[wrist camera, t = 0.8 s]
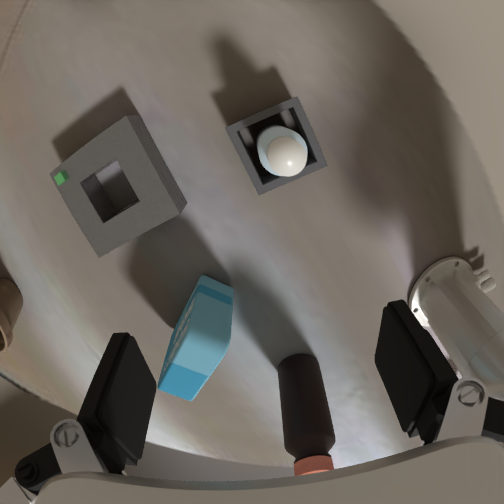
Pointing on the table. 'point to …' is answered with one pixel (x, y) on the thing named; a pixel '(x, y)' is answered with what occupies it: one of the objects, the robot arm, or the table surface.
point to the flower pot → (8, 311)
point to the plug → (281, 150)
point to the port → (138, 174)
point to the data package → (198, 339)
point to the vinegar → (305, 414)
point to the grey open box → (305, 129)
